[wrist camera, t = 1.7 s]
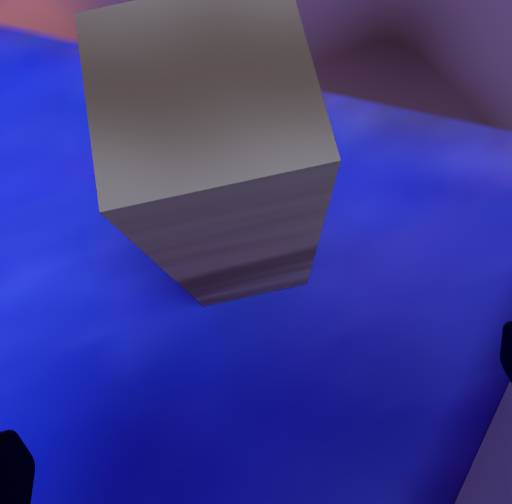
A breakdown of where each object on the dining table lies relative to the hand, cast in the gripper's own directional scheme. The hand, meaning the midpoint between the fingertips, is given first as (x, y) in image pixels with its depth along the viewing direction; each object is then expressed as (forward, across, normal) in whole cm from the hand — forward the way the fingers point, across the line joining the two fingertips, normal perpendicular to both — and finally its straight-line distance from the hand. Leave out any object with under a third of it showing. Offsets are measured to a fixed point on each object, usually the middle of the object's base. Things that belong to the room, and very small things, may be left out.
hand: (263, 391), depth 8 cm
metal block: (+14, 0, +4) cm, 15 cm away
